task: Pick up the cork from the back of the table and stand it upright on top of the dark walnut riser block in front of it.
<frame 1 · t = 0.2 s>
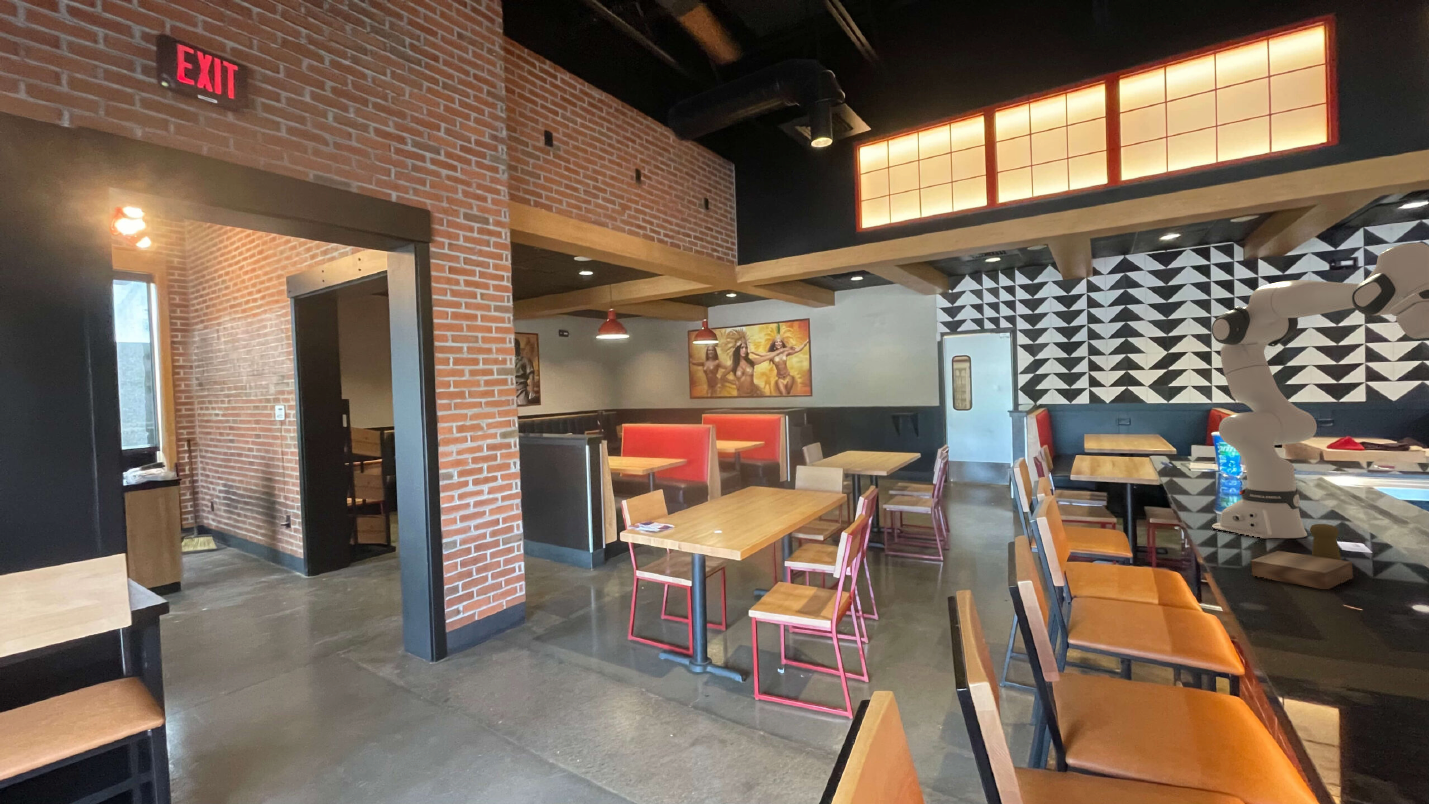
walnut riser block: (1301, 577, 147), on the counter
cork: (1327, 567, 153), on the counter
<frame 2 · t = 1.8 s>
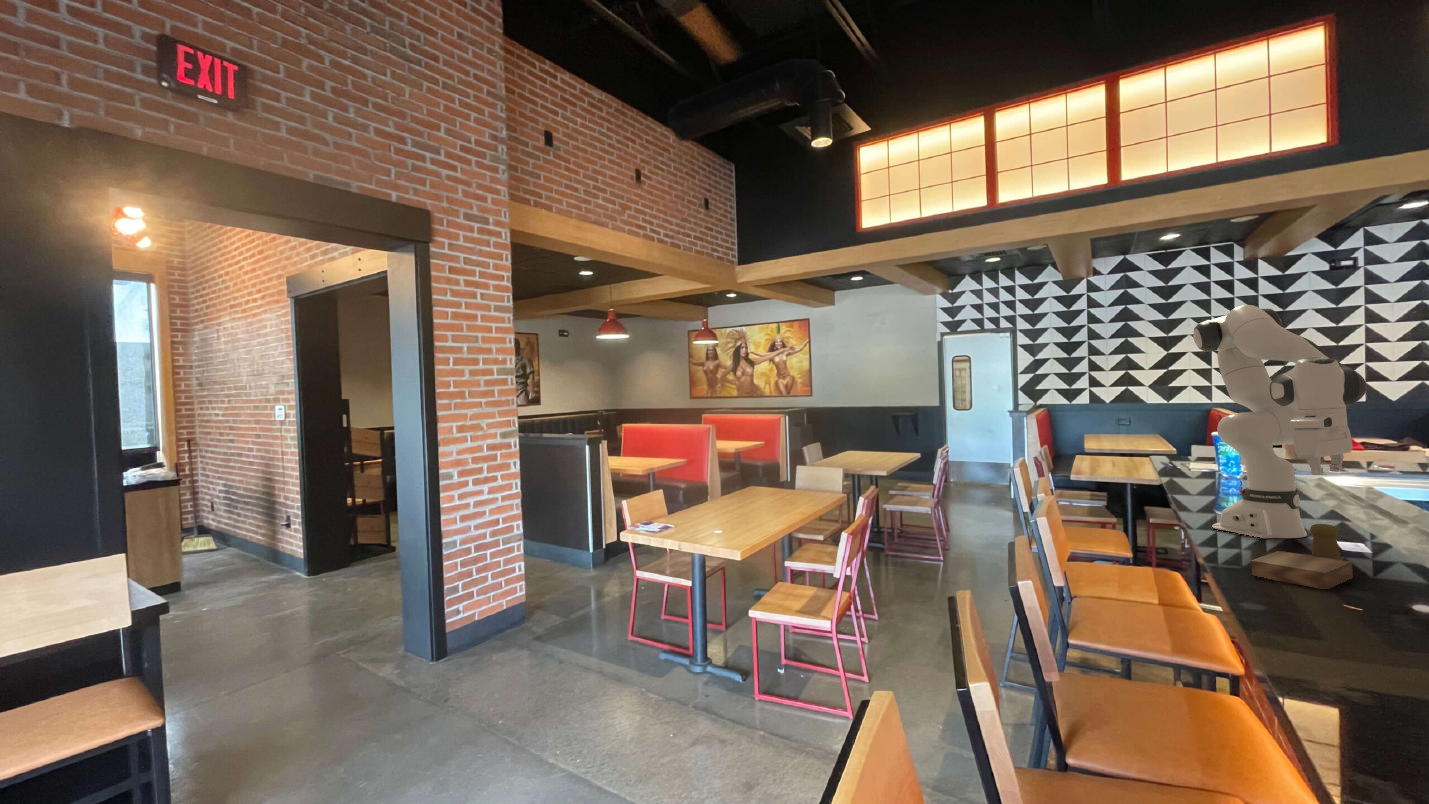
hand: (1326, 473, 151), 25 cm above the counter, tool pointing down, fingers open, 8 cm apart
nothing on the counter moved.
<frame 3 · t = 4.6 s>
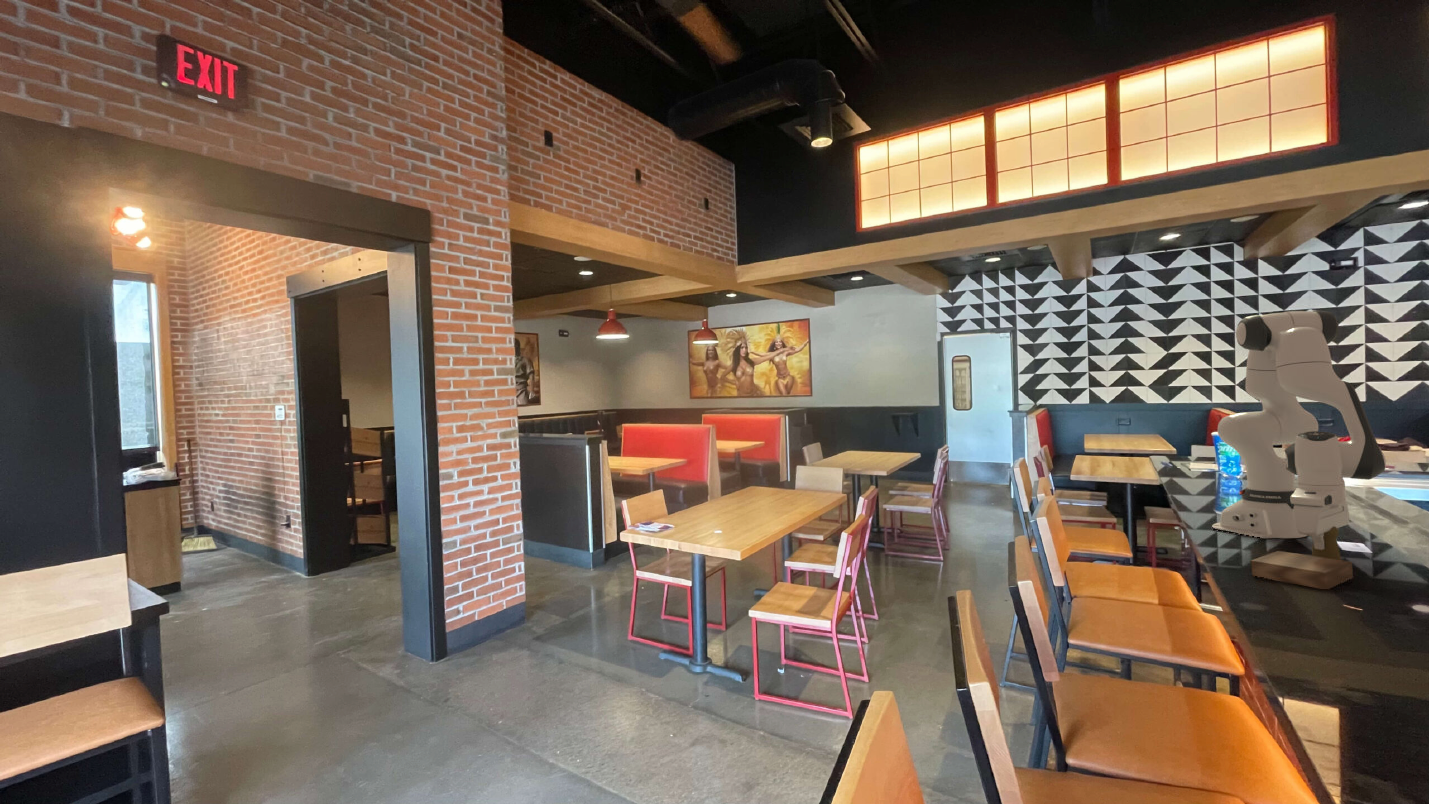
hand: (1325, 547, 153), 5 cm above the counter, tool pointing down, fingers closed on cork, 4 cm apart
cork: (1327, 567, 153), on the counter, touching gripper
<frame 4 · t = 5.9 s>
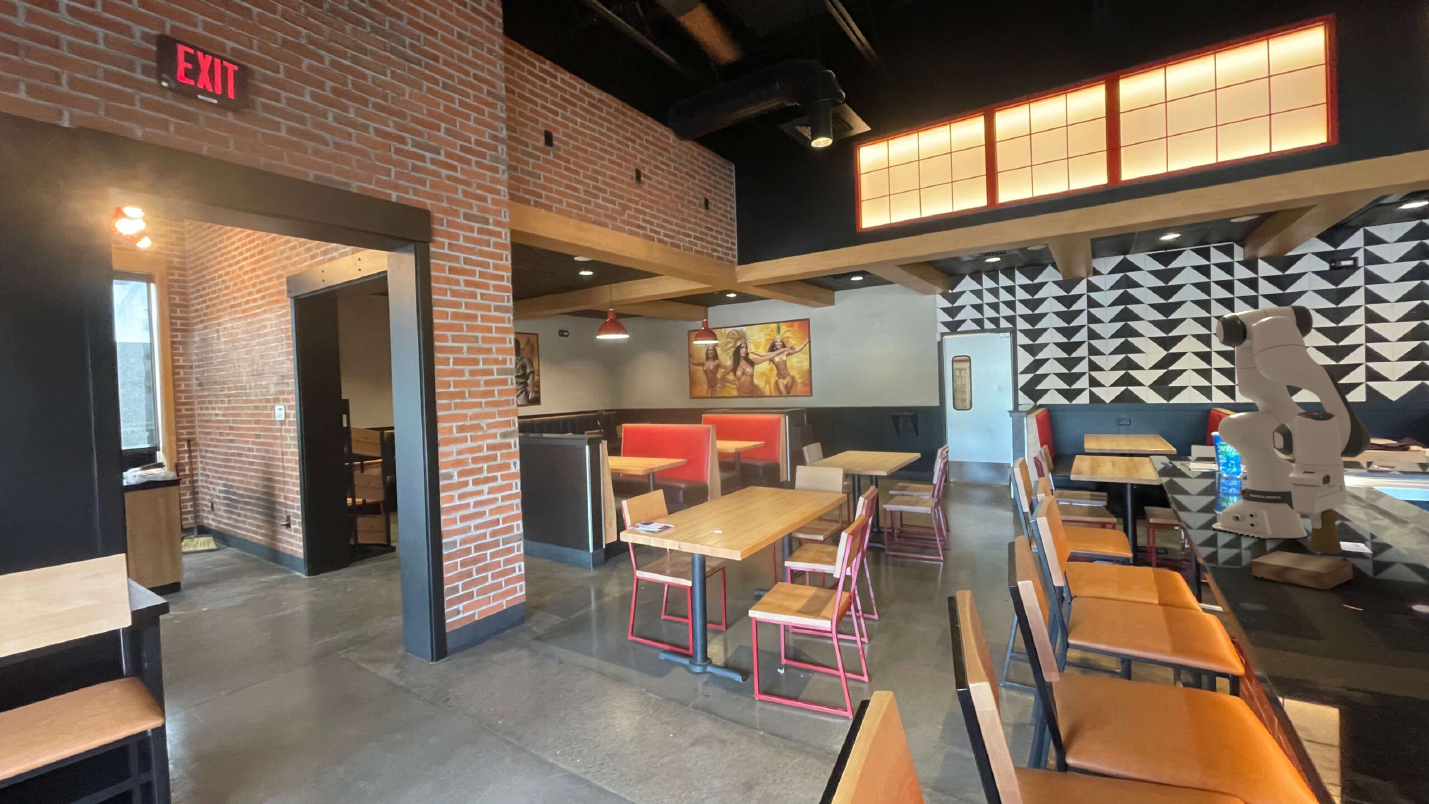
hand: (1322, 526, 154), 10 cm above the counter, tool pointing down, fingers closed on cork, 4 cm apart
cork: (1325, 551, 154), point 4 cm above the counter, touching gripper
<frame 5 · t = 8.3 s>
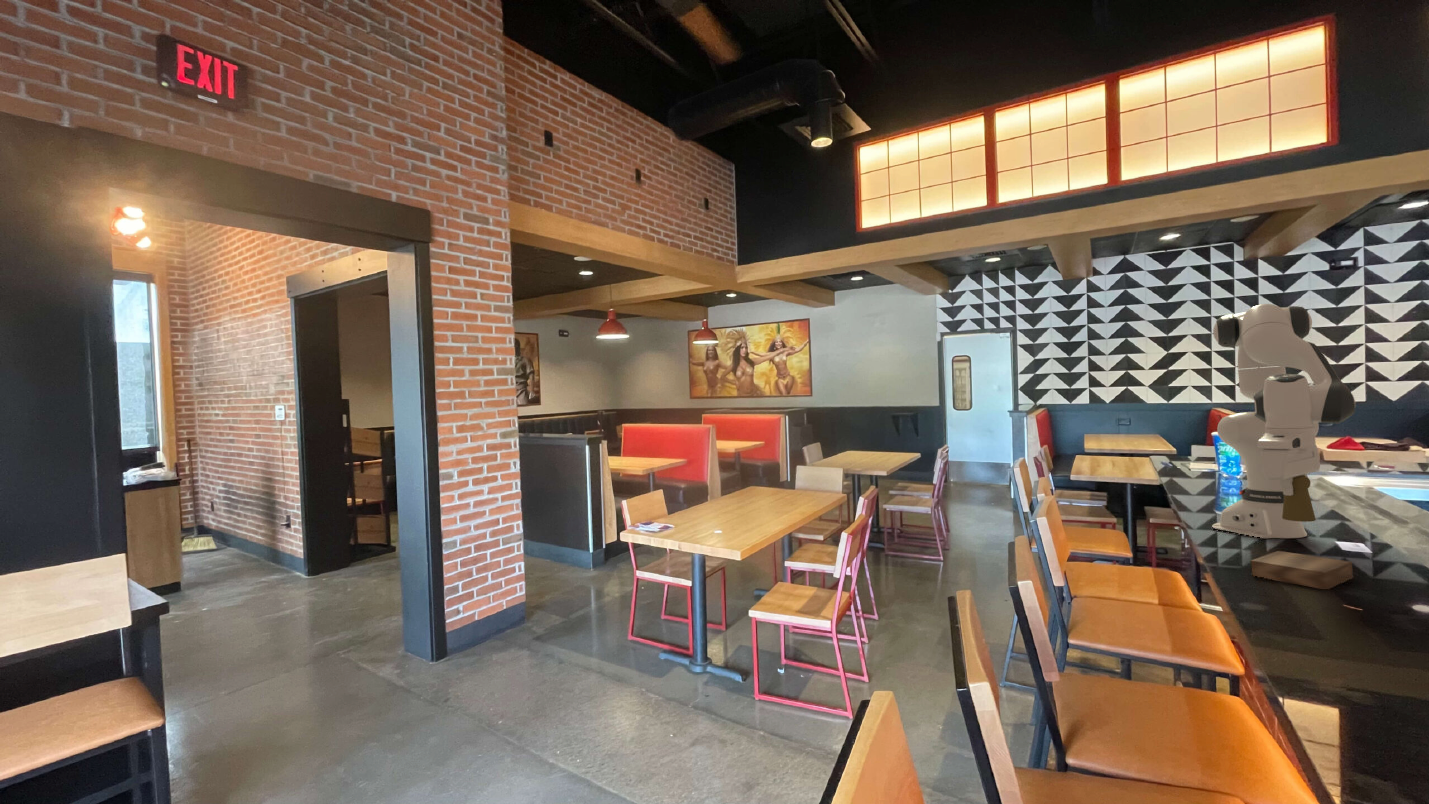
hand: (1294, 493, 147), 21 cm above the counter, tool pointing down, fingers closed on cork, 4 cm apart
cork: (1298, 519, 147), point 14 cm above the counter, touching gripper
when the fingers open (12 cm above the counter, at t = 11.9 s): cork drops 1 cm, resting on walnut riser block.
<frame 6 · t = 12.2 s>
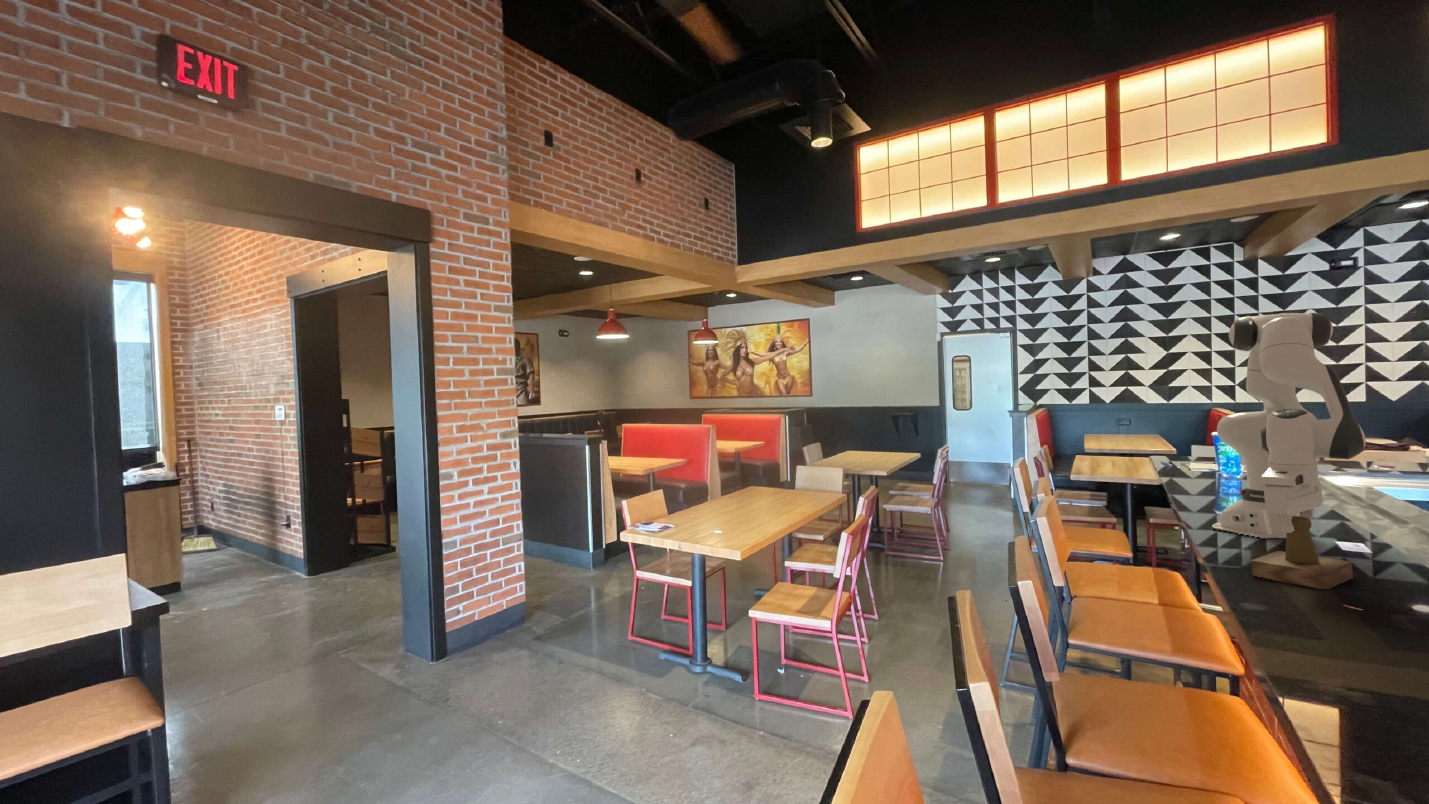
hand: (1297, 529, 147), 12 cm above the counter, tool pointing down, fingers open, 8 cm apart
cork: (1302, 561, 147), point 4 cm above the counter, touching walnut riser block
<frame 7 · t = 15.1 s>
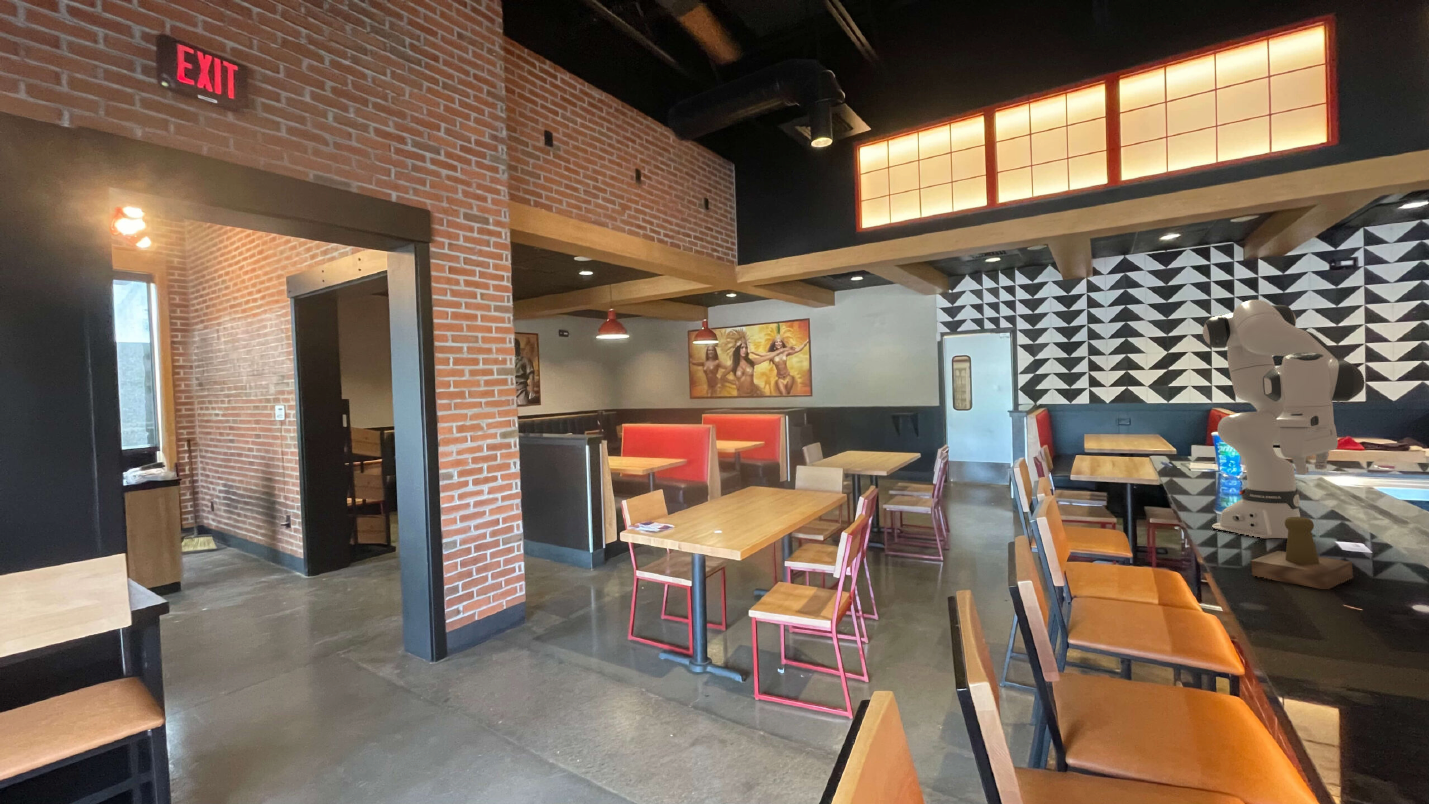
hand: (1311, 471, 148), 26 cm above the counter, tool pointing down, fingers open, 8 cm apart
nothing on the counter moved.
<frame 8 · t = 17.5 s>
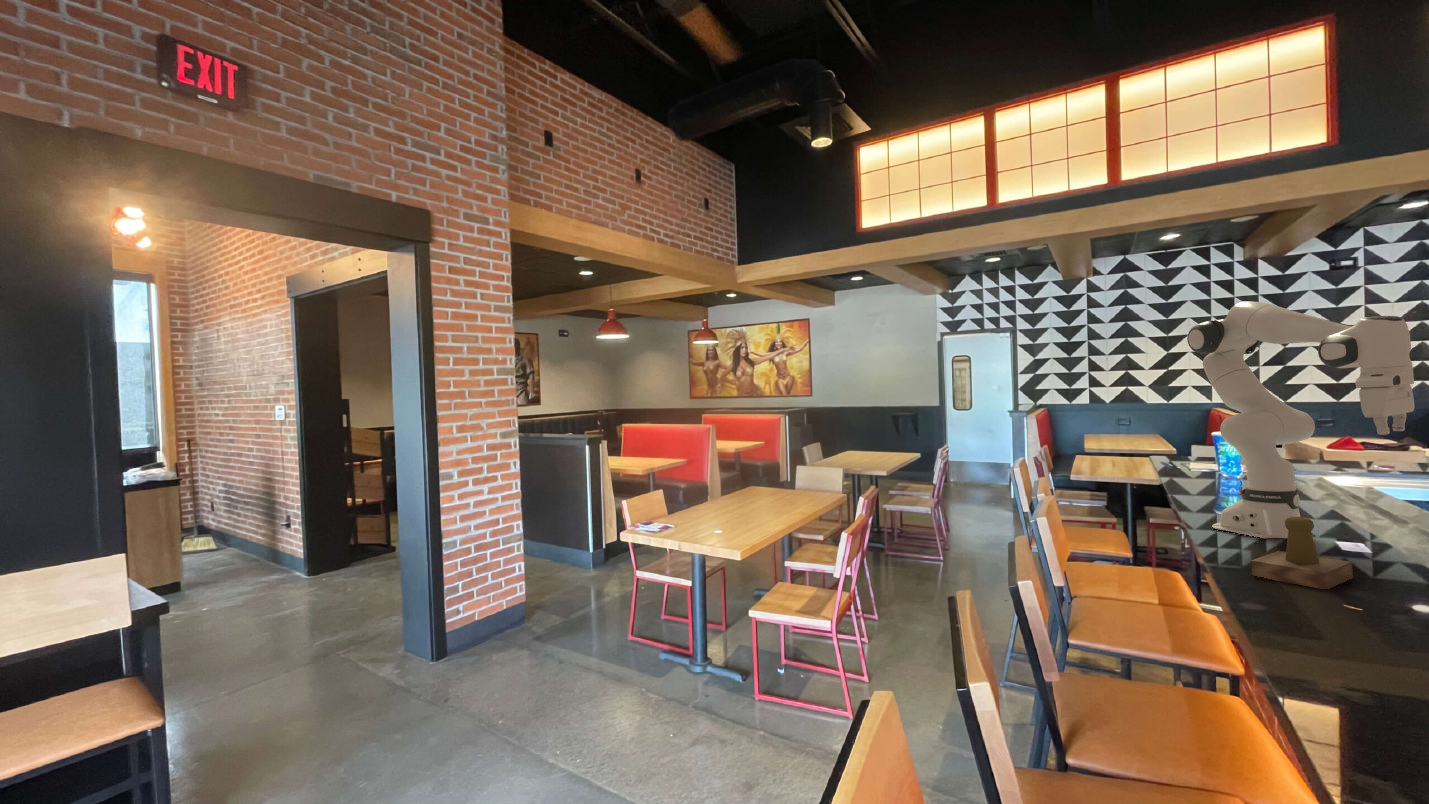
hand: (1391, 432, 149), 34 cm above the counter, tool pointing down, fingers open, 8 cm apart
nothing on the counter moved.
at the end: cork inside the target area on the walnut riser block (0.4 cm from its centre), point 3.8 cm above the walnut riser block's base; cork tilted 0°; the gripper is holding nothing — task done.
